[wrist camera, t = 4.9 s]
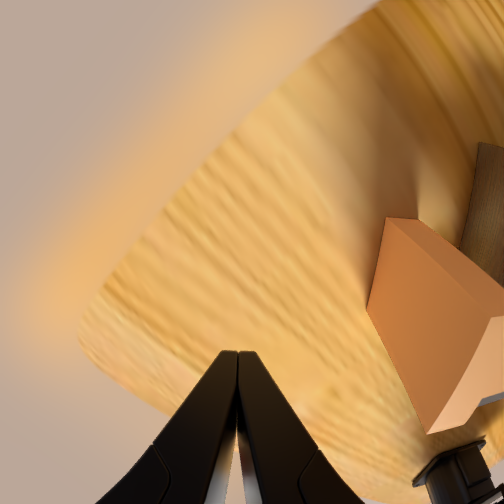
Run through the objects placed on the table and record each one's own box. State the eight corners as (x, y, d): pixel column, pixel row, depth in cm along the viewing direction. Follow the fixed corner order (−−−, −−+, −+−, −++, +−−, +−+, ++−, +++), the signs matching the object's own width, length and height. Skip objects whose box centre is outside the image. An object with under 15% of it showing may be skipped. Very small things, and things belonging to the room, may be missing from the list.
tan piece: (454, 306, 14) (527, 400, 8) (366, 310, 14) (426, 434, 7) (478, 225, 12) (582, 302, 6) (385, 217, 12) (491, 317, 6)
